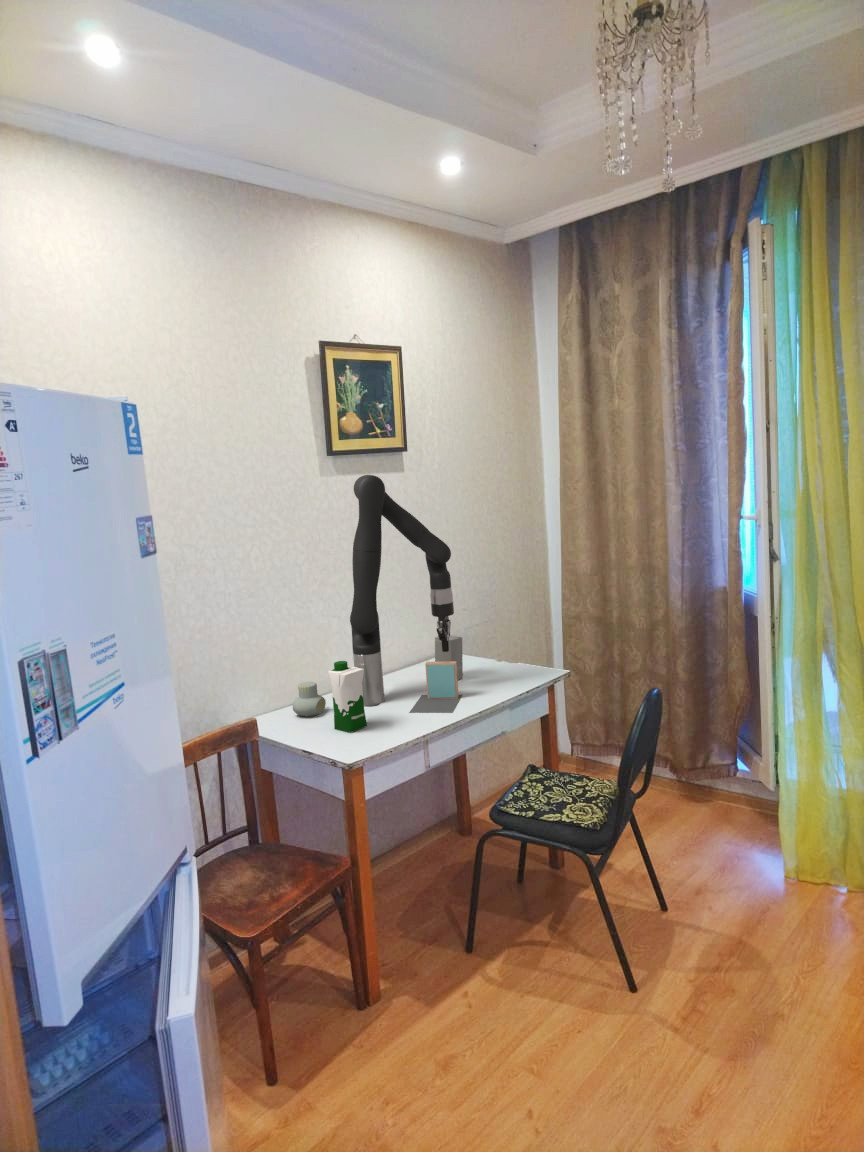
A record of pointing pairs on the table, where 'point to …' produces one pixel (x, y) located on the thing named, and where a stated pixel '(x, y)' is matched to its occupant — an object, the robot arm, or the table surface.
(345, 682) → the milk carton
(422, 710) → the rubber mat
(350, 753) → the table surface
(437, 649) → the skincare box
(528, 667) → the table surface
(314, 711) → the grey rounded piece
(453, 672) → the glazed tile
